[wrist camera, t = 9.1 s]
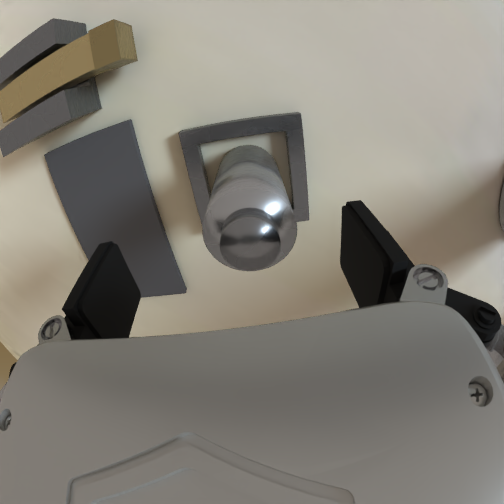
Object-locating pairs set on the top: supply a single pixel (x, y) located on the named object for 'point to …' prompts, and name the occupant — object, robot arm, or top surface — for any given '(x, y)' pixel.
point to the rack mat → (116, 205)
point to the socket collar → (243, 128)
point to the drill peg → (249, 212)
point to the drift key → (69, 67)
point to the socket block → (56, 107)
